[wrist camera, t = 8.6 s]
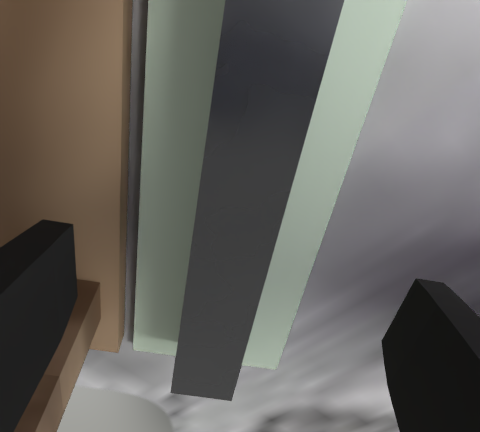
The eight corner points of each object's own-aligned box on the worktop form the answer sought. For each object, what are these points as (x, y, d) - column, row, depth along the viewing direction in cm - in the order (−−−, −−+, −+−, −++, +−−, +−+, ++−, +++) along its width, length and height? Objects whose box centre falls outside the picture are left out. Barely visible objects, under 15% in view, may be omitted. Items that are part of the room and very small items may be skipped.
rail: (378, -208, 9) (413, -245, 7) (234, 350, 19) (231, 400, 17) (262, -235, 9) (264, -281, 7) (179, 343, 19) (170, 392, 17)
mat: (490, -253, 9) (498, -260, 8) (275, 362, 20) (276, 369, 20) (167, -332, 8) (163, -343, 8) (135, 342, 20) (132, 350, 19)
